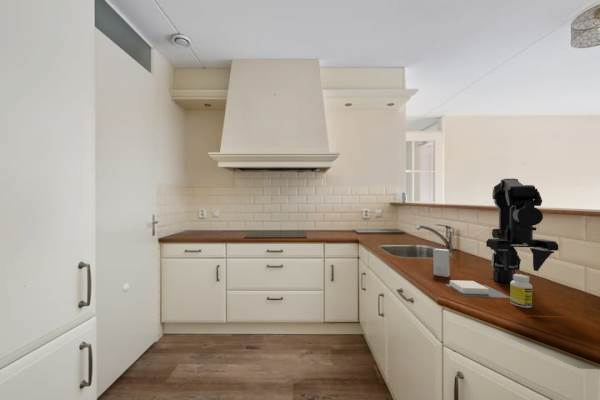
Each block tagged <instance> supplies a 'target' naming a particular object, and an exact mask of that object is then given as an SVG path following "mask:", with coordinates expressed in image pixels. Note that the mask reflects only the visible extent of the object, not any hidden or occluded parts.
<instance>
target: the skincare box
mask: <svg viewBox="0 0 600 400" xmlns="http://www.w3.org/2000/svg"><path fill="white" fill-rule="evenodd" d="M432 255H433V256H432V258H433V259H432V261H433V263H432V264H433V275H434V276H438V277H439V276H440V277H446V278H449V277H450V250H449V249H446V248H445V249H443V248H434V249H432Z"/></svg>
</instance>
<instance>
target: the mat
mask: <svg viewBox="0 0 600 400" xmlns="http://www.w3.org/2000/svg"><path fill="white" fill-rule="evenodd" d="M481 285H482V286H484V287H486V288H488V289H489V294H488V295H478V294H462V293H461V292H459V291H457V290H456V289H454V288H453V287H451V286H450V283H445V286H447V287H448V288H450V289H452V290H453V291H455V292H456V293H458V294H460V295H461V296H462V297H468V298H470V297H472V298H473V297H474V298H475V297H476V298H503V299H505V298H508V299H510V296H508V295H506V294H505V293H504V292H501V291H499V290H496V289H495V288H493V287H490V286H488V285H487V284H481Z"/></svg>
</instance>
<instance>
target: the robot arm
mask: <svg viewBox="0 0 600 400" xmlns="http://www.w3.org/2000/svg"><path fill="white" fill-rule="evenodd" d="M491 194H492V200H493V203H494V204H495V206H496V207H497V209H498V228H493V229H492V231H491V236H492V238H488V239H487V240H486V242H485V243H486V244H485V246H486V247H488V248H489V249H490V250H493V251H494V252H492V255H491V260H490V261H491V263H490V264H491V266H492V268H493V272H492V273H493V274H492V275H493V276H492V278H491V280H492V281H495V282H497V283H499V284H500V285H501V284H502V285H510V283H511V281H513V280H514V279H513V275H514V274H516V271H519V270H521V269H520V268H521V267H520V266H521V261H522V259H521V258H520V256H519V255H518V251H517V250H516V248H529V250H530V251H531V253H532V267H533V271H535V272H539V270H540V269H541V267H542V266H543V264H544V263H545V262H546V261H547V259H549V257H550V256H551V255H552V254H555V251H559V244H558V243H557V241H554V240H549V239H542V238H541V239H540V238H539V239H536V238H534V237H533V236H534V231H537V227H535V226H536V225H539V224H540V223H541V222H542V221H543V218H544V215H543V213H542V211H541V210H540V209H539V208H537V207H541V206H542V203H543V199H542V197H541V193H540V192H539V190H538V188H536V187H535V185H533V184H523V183H521V182H520V181H519V179H518V178H502V179H501V180H500V183H498V184H496V185H495V186H493V188H492V193H491Z"/></svg>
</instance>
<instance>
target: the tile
mask: <svg viewBox="0 0 600 400" xmlns="http://www.w3.org/2000/svg"><path fill="white" fill-rule="evenodd" d="M449 284H450V286H451V287H453V288H454V289H456V290H457V291H459V292H461V293H462V294H478V295H488V294H489V289H488V288H486V287H484V286H482V285H483V284H481V283H478V282H476V281H475V280H458V279H457V280H455V279H454V280H453V279H450V280H449Z"/></svg>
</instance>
